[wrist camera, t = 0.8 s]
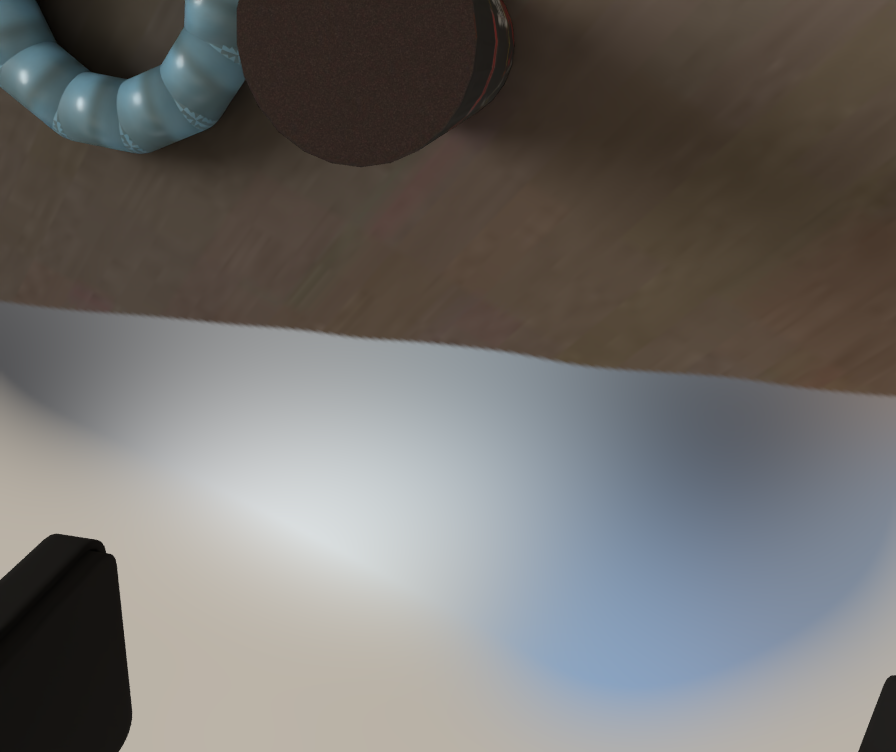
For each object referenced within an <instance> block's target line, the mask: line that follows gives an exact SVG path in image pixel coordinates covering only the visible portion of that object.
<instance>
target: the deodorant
mask: <svg viewBox="0 0 896 752" xmlns="http://www.w3.org/2000/svg"><path fill="white" fill-rule="evenodd" d="M514 46H515V45H514V35H513V26H512V22H511V20H510V17H509V14H508V11H507V9H506V6H505V4H504V3H503V1H502V0H239V1H238V5H237V48H238V52H239V56H240V61H241V65H242V70H243V74H244V78H245V80H246V82H247V84H248V86H249V88H250V90H251V92H252V94H253V96H254V99H255V101H256V103H257V105H258V107H259V108H260V109H261V111H262V112H263V113H264V114H265V116H266V117H267V118H268V119H269V121H270V122H271V123H272V124H273V125H274V127H275V128H276V129H277V130H278V132H279V133H281V134H282V135H283V136H285V137H286V138H287V139H289V140H290V141H291V142H292V143H294V144H295V145H296V146H298V147H299V148H300V149H302V150H303V151H304V152H307V153H309V154H311V155H314V156H316V157H319V158H321V159H323V160H326V161H328V162H330V163H335V164H342V165H349V166H357V167H366V166H372V165H379V164H386V163H391V162H394V161H396V160H398V159H401V158H403V157H405V156H407V155H410V154H412V153H414V152H416V151H418V150H420V149H422V148H423V147H425V146H426V145H428V144H429V143H431V142H432V141H434V140H435V139H437V138H438V137H440V136H442V135H443V134H445V133H446V132H448V131H449V130H451V129H452V128H454V127H455V126H457V125H458V124H460V123H462V122H463V121H465V120H466V119H468V118H469V117H471V116H472V115H474V114H475V113H477V112H478V111H480V110H481V109H482V108H483V107H485V106H486V105H487V104H488V103H489V102H491V101H492V100H493V99H494V98H495V96H496V95H497V93H498V92H499V91H500V89H501V88H502V86H503V85H504V84H505V81H506V79H507V76H508V73H509V71H510V68H511V66H512V60H513V53H514Z"/></svg>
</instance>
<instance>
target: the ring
mask: <svg viewBox="0 0 896 752" xmlns="http://www.w3.org/2000/svg"><path fill="white" fill-rule="evenodd" d="M238 1H239V0H185V20H184V28H183V30H182V31H181V33H180V35H179V36H178V38H177V40H176V41H175V43H174V45H173V46H172V48H171V50H170V51H169V53H168V55H167V56H166V58H165V60H164V61H163V63H162V64H161V65H159V66H157V67H155V68H153V69H150V70H148V71H146V72H143V73H141V74H139V75H137V76H134V77H132V78H130V79H123V78H118V77H113V76H108V75H103V74H98V73H93V72H90V71H89V70H88V69H87V68H86V67H84V66H83V65H82V64H81V63H80V62H79V61H77V60H76V59H75V58H74V57H73V56H71V55H70V54H69V53H68V52H67V51H65V50H64V49H63V48H62V47H61V46H59V45H58V44H57V42H56V40H55V38H54V36H53V34H52V32H51V30H50V28H49V26H48V24H47V22H46V20H45V18H44V16H43V14H42V12H41V10H40V8H39V6H38V3H37V1H36V0H0V87H1V88H2V89H3V90H5V91H6V92H7V93H8V94H10V95H11V96H12V97H13V98H14V99H16V100H17V101H18V102H19V103H21V104H22V105H23V106H24V107H26V108H27V109H28V110H29V111H30V112H32V113H33V114H34V115H35V116H37V117H38V118H39V119H40V120H42V121H43V122H44V123H45V124H46V125H48V126H49V127H50V128H51V129H53V130H54V131H55V132H56V133H58V134H59V135H61V136H62V137H64V138H67V139H69V140H73V141H76V142H81V143H86V144H91V145H96V146H101V147H106V148H111V149H116V150H121V151H126V152H131V153H137V154H143V153H150V152H153V151H155V150H158V149H160V148H163V147H165V146H168V145H170V144H172V143H175V142H177V141H180V140H182V139H185V138H187V137H190V136H192V135H194V134H197V133H199V132H202V131H204V130H206V129H208V128H210V127H212V126H213V125H214V124H216V122H217V121H218V120H219V119H220V118H221V116H222V114H223V113H224V111H225V110H226V108H227V107H228V105H229V104H230V102H231V101H232V99H233V98H234V96H235V95H236V93H237V92H238V90H239V89H240V87H241V86H242V84H243V83H244V81H245V78H244V74H243V70H242V65H241V61H240V56H239V52H238V48H237V5H238Z"/></svg>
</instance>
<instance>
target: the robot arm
mask: <svg viewBox="0 0 896 752" xmlns="http://www.w3.org/2000/svg"><path fill="white" fill-rule="evenodd" d="M131 721H132V706H131V696H130V686H129V677H128V667H127V658H126V649H125V639H124V630H123V620H122V610H121V601H120V592H119V583H118V573H117V564H116V559H115V558H114V556H113V555H111V554H107V553H106V551H105V547H104V545H103V544H102V542H100V541H98V540H94V539H88V538H81V537H75V536H68V535H62V534H53V535H50V536H49V537H47V538H46V539H44V540H43V541H42V542H41V543H40V544H39V545H38V546H37V547H36V548H34V549H33V550H32V551H31V552H30V553H29V554H28V555H27V556H26V557H25V558H24V559H22V560H21V561H20V562H19V563H18V564H17V565H16V566H15V567H14V568H13V569H12V570H11V571H10V572H8V573H7V574H6V575H5V576H4V577H3V578H2V579H1V580H0V752H119V750H120V749H121V747H122V746H123V744H124V742H125V740H126V738H127V735H128V733H129V730H130V726H131ZM858 752H896V675H894V676H890V677H889V678H887V680H886V682H885V684H884V686H883V688H882V691H881V694H880V697H879V699H878V702H877V704H876V707H875V709H874V712H873V715H872V717H871V720H870V722H869V725H868V728H867V730H866V733H865V735H864V738H863V741H862V744H861V746H860V749H859V751H858Z"/></svg>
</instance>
